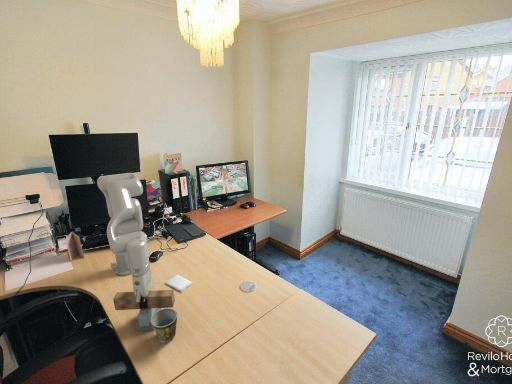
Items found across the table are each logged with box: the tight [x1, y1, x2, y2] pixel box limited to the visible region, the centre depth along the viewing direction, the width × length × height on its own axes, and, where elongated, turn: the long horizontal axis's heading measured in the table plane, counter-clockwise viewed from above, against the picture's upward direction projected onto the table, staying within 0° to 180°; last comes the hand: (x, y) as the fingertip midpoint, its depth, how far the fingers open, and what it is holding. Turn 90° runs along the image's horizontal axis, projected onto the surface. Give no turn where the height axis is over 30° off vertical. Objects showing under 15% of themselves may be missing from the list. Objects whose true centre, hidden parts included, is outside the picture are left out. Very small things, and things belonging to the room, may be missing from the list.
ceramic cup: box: [151, 307, 178, 344], centre depth 106 cm, size 13×10×10 cm
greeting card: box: [65, 231, 85, 262], centre depth 164 cm, size 11×7×15 cm, turn 17°
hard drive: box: [165, 274, 194, 293], centre depth 141 cm, size 2×8×12 cm
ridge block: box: [133, 308, 162, 332], centre depth 116 cm, size 8×12×7 cm, turn 4°
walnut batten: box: [112, 289, 176, 311], centre depth 114 cm, size 24×4×6 cm, turn 94°
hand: (145, 303), depth 115 cm, fingers closed on walnut batten, 4 cm apart
